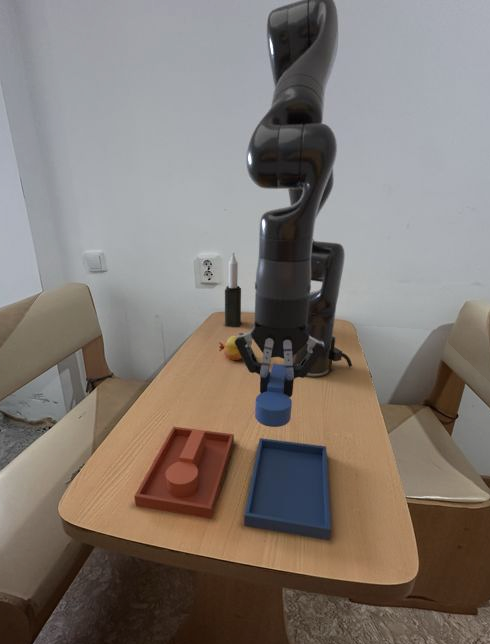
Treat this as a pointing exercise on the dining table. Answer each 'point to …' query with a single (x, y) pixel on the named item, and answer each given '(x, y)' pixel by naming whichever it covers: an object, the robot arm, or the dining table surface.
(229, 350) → the fruit
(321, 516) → the blue tray
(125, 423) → the dining table surface
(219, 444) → the terracotta tray
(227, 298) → the candle
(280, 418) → the blue scoop
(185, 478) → the terracotta scoop
